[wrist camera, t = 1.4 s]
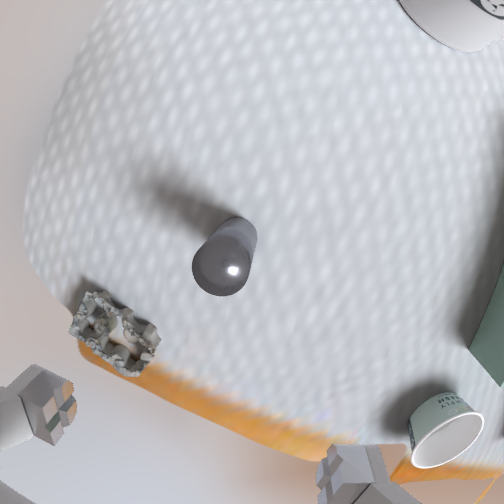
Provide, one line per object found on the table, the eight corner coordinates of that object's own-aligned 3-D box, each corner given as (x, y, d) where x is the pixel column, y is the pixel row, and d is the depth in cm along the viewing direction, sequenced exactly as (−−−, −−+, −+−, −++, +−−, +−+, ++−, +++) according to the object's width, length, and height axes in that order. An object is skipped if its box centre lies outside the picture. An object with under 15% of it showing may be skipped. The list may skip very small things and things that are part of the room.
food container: (476, 376, 34) (495, 402, 28) (454, 430, 37) (468, 455, 31) (408, 393, 35) (423, 425, 29) (392, 446, 38) (402, 476, 32)
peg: (220, 213, 31) (196, 235, 21) (260, 222, 31) (254, 248, 21) (214, 252, 32) (188, 289, 22) (252, 260, 32) (242, 301, 22)
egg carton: (170, 333, 35) (159, 352, 31) (142, 369, 37) (131, 387, 33) (99, 278, 34) (82, 291, 30) (79, 318, 36) (62, 333, 32)
